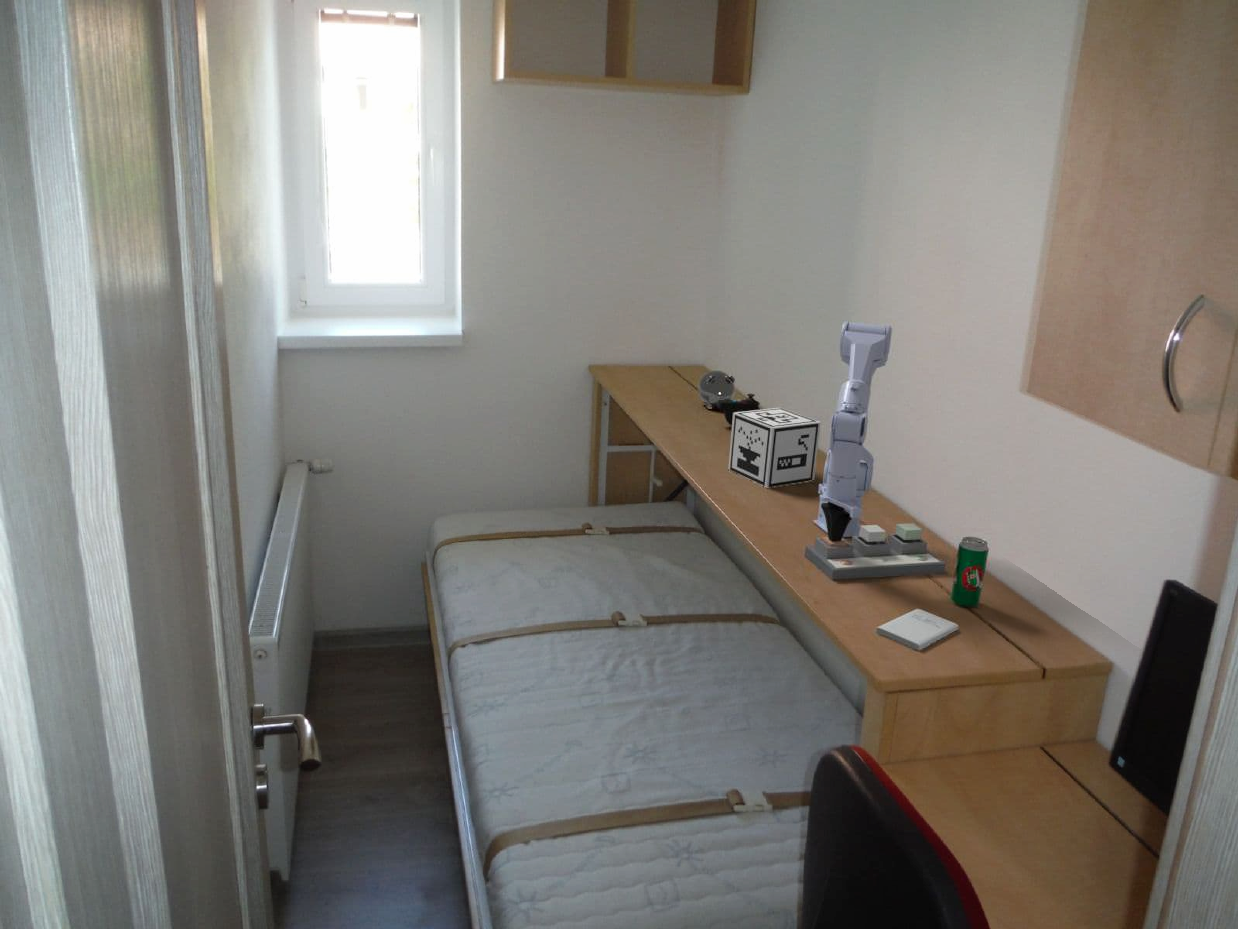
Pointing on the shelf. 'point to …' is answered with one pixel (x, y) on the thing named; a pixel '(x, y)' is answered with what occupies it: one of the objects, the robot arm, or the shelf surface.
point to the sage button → (908, 531)
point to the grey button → (872, 533)
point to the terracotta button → (834, 544)
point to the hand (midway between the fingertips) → (834, 540)
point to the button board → (872, 549)
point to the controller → (737, 406)
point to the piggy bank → (716, 387)
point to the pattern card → (883, 561)
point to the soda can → (969, 572)
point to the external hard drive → (917, 629)
